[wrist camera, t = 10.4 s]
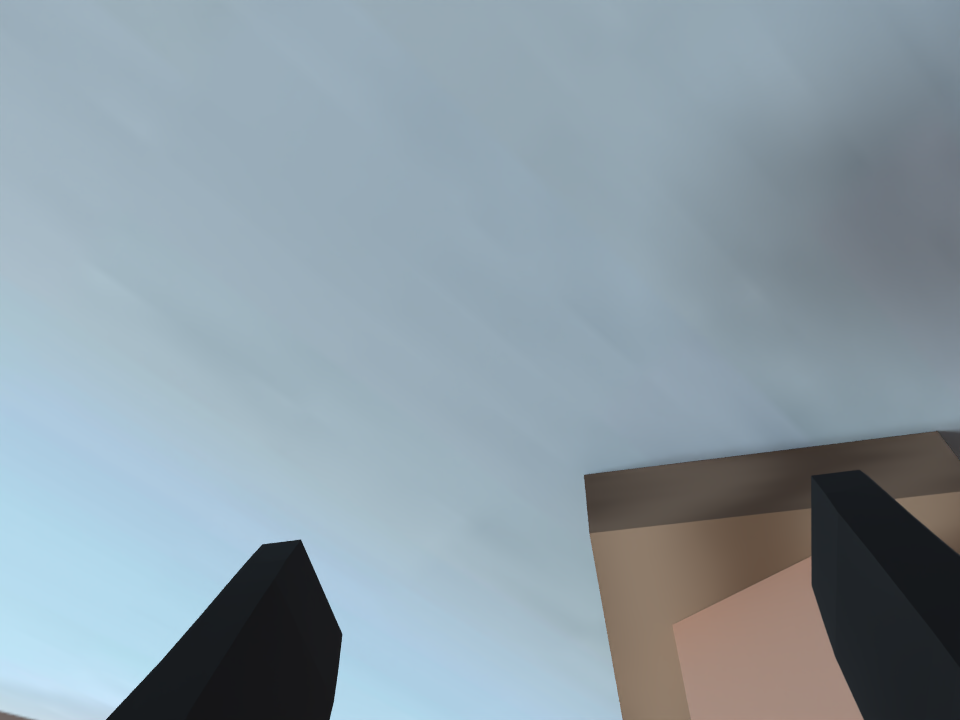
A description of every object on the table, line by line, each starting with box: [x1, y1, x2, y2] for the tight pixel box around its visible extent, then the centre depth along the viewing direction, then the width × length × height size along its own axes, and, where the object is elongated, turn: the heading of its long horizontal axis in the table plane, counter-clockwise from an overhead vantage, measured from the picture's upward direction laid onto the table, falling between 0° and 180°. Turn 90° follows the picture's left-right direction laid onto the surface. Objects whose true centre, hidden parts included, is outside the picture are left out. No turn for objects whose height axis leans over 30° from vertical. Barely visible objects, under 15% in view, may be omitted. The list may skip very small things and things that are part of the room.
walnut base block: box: [584, 431, 960, 720], centre depth 24 cm, size 10×10×3 cm
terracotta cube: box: [672, 557, 864, 720], centre depth 21 cm, size 5×5×5 cm
